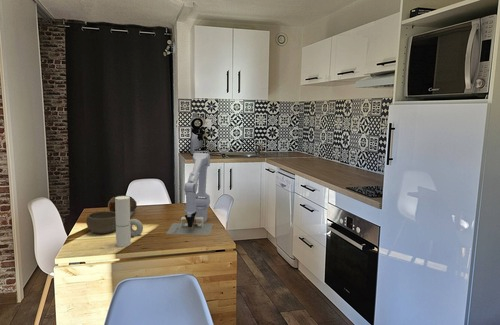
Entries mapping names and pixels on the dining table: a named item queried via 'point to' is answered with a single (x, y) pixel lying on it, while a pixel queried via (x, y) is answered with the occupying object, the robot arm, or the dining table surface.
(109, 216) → the bowl
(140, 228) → the donut
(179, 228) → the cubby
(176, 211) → the dining table surface
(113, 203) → the clay pot
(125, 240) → the cylindrical container
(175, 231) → the metal bar
